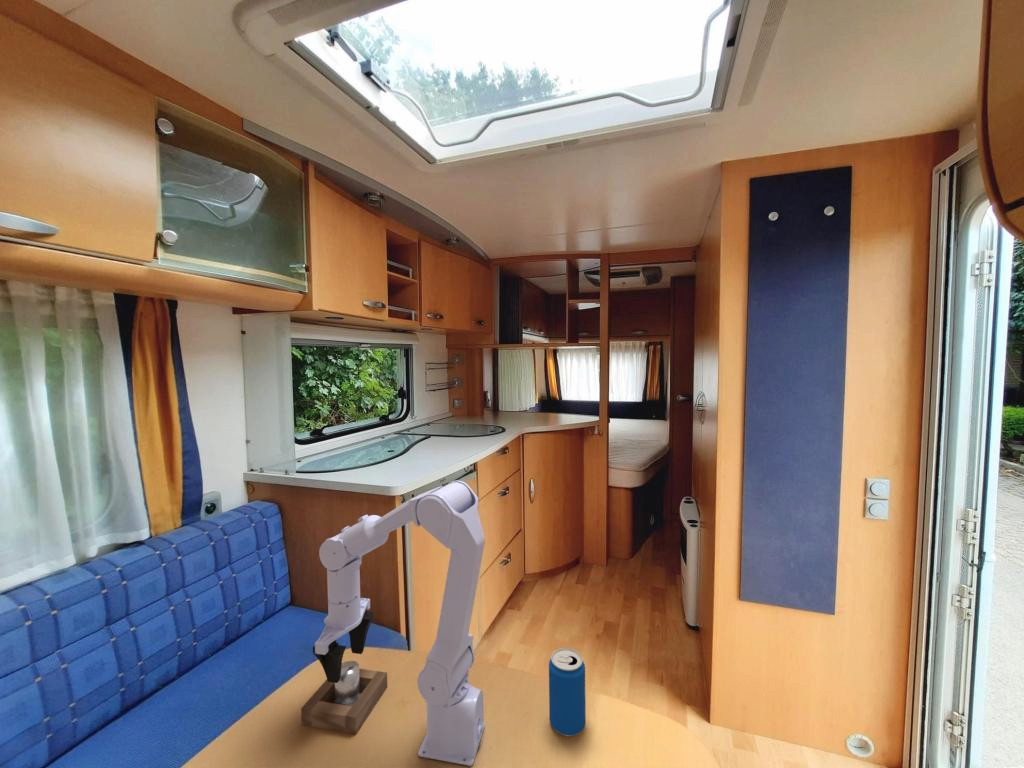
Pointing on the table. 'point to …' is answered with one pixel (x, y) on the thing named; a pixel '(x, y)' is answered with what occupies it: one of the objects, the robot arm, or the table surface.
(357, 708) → the walnut socket block
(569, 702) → the beverage can
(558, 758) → the table surface
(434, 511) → the robot arm
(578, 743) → the table surface
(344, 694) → the metal peg
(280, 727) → the table surface
